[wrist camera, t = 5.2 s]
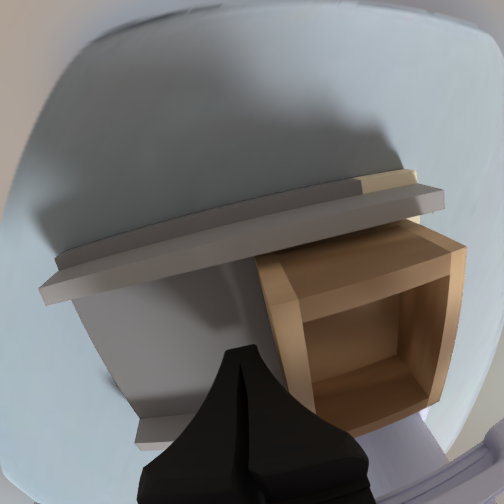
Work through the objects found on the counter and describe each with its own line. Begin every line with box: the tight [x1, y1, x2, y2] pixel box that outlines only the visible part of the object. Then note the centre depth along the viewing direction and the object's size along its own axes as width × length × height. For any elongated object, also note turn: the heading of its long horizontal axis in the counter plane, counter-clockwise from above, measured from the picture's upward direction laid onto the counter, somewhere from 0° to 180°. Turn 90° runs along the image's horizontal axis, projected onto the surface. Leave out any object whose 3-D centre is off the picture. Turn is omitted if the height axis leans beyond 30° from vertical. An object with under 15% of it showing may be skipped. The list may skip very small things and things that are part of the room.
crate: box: [254, 219, 467, 438], centre depth 12 cm, size 8×8×4 cm
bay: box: [38, 169, 445, 451], centre depth 13 cm, size 12×17×3 cm
